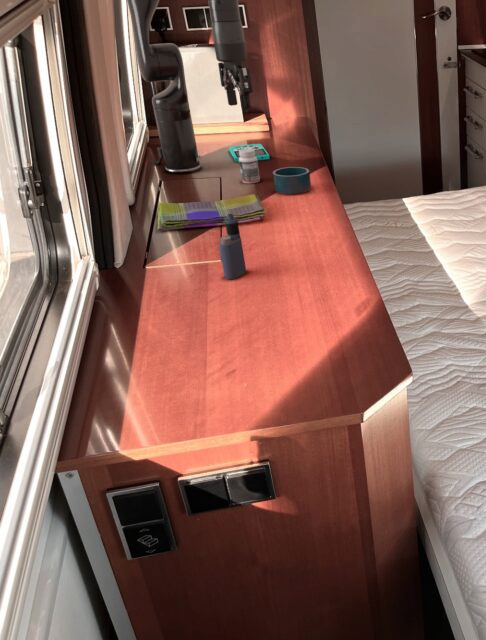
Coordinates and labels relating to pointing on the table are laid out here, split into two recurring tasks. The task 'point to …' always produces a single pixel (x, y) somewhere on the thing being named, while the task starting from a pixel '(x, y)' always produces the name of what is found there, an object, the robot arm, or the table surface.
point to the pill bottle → (249, 166)
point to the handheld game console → (259, 149)
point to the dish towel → (209, 212)
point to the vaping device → (232, 250)
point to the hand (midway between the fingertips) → (239, 107)
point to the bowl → (292, 180)
